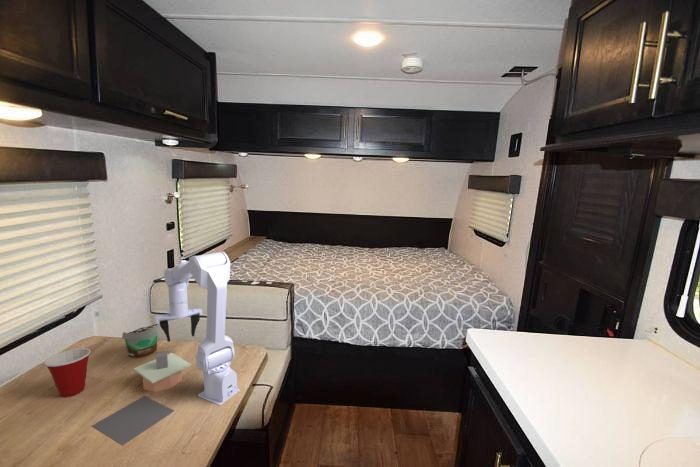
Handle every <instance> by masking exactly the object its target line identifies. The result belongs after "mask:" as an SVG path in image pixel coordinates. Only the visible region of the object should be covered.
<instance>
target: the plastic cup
mask: <svg viewBox="0 0 700 467" xmlns="http://www.w3.org/2000/svg"><path fill="white" fill-rule="evenodd" d="M90 354H91V349H90V348H84V347H82V348H74V349H69V350H65V351H63V352H60V353H57V354H54V355H52V356H50V357H48V358H47V359H46V360H44V362H43V365H44V366H46V367H47V369H48V371H49V373H50V374H51V377H52V379H53V382H54V385H55V387H56V388H57V390H58V394H59V395H60V396H61V397H62V398H69V397H73V396H77V395H78V394H80V393H82V392H83V391H84V390H85V388H86V379H87V372H88V363H89V357H90Z"/></svg>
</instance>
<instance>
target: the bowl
mask: <svg viewBox="0 0 700 467" xmlns="http://www.w3.org/2000/svg"><path fill="white" fill-rule="evenodd" d="M182 374H183V373H182V370H181V371H178V372H176V373H174V374H172V375H170V376H168V377H165V378H163V379H161V380H159V381H157V382H155V383H153V384H152V383H151V382H149V381H148V380H147V379H145V378H144V377H143V376H142V385H143V390H146V391H148V392H153V393H156V392H161V391H163V390H164V391H165V390H169V389H172V388H173V387H175V386H177V384H179V383H180V382H182V380H183V379H182V378H183V376H182Z"/></svg>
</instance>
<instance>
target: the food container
mask: <svg viewBox="0 0 700 467" xmlns="http://www.w3.org/2000/svg"><path fill="white" fill-rule="evenodd" d="M159 330H160V324H159V323H158V324H156V323H154V324H151V325H149V326H145V327H144V326H143V327H140V328H138V329H134V330H133V331H129V332H125V331H123V333H122V336H121V338H122V339H124V342H125V347H126V351H127V356H128V357H129V358H132V359H139V358H145V357H149V356H150V354H151V355H152V354H154V353H156V351H157V349H158V332H159Z"/></svg>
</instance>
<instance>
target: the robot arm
mask: <svg viewBox="0 0 700 467" xmlns="http://www.w3.org/2000/svg"><path fill="white" fill-rule="evenodd" d="M230 276H231V261H230V258H229V256H228V254H227V253H226V252H225V251H223V250H221V251H218V252H213V253H207V254H200V255H192V256H190V257H188V260H185V259H184V260H180V261H179V263H178V264H175V265H174V267H172V268H165V270H164V272H163V277H164V282H165V284H166V285H167V288H168V289H167V290H168V291H167V292H168V303H169V312H168V313H164V314H160V315H157V316H154V319H155V324H158V325H159V328H161V329H162V331H163V333H164V334H165V338H166V341H167V343H170V342H171V337H170V330H169V329H170V328H169V327H170V325H169V321H174V320H179V319H184V318H185V319H186V318H189V317H190V325H191V326H190V332H191V333H190V334H191V337H195V333H196V330H197V326H198V324H199V322H200V320H201V317H200V316H203V313H204V312H203V308H202V307H201V308H191V309H190V308H189V297H188V288H189V282H190V279H191V278H192V277H193V279H194V281H195V282H196V283H197V285H198V287H199V288H202V289H203V288H204V289H207V294H206V295H207V296H206V298H207V299H206V332H205V333H206V334H205V338H204V339H203V340H202V341H201V342H200V344H198V346H197V352H196V354H195V363H196V366H197V368H198V370H199V371H201V372H202V373H203V386H204V389H203V391H201V392H200V393H198V394H197V395H198V397H199V398H201V399H204V400H207V401H209V402H210V403H213V404H216V405H218V406H222V405H223V404H224V403H225V402H227V401H228V400H229V399H231V398H232V397H234V396H235V395H236V394H238V393H239V392H240V389H239V388H238V374H237V372H236V371H235V370H234V369H232V368H231V367H230V366H231V364H232V361H233V360H234V359H235V354H236V353H235V348H234V341H233V340H232V338H231V337H230V336H229V335H227V334H226V318H227V317H226V312H227V296H228V295H227V293H228V282H229V281H230V280H231V279H230V278H231V277H230Z"/></svg>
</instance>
